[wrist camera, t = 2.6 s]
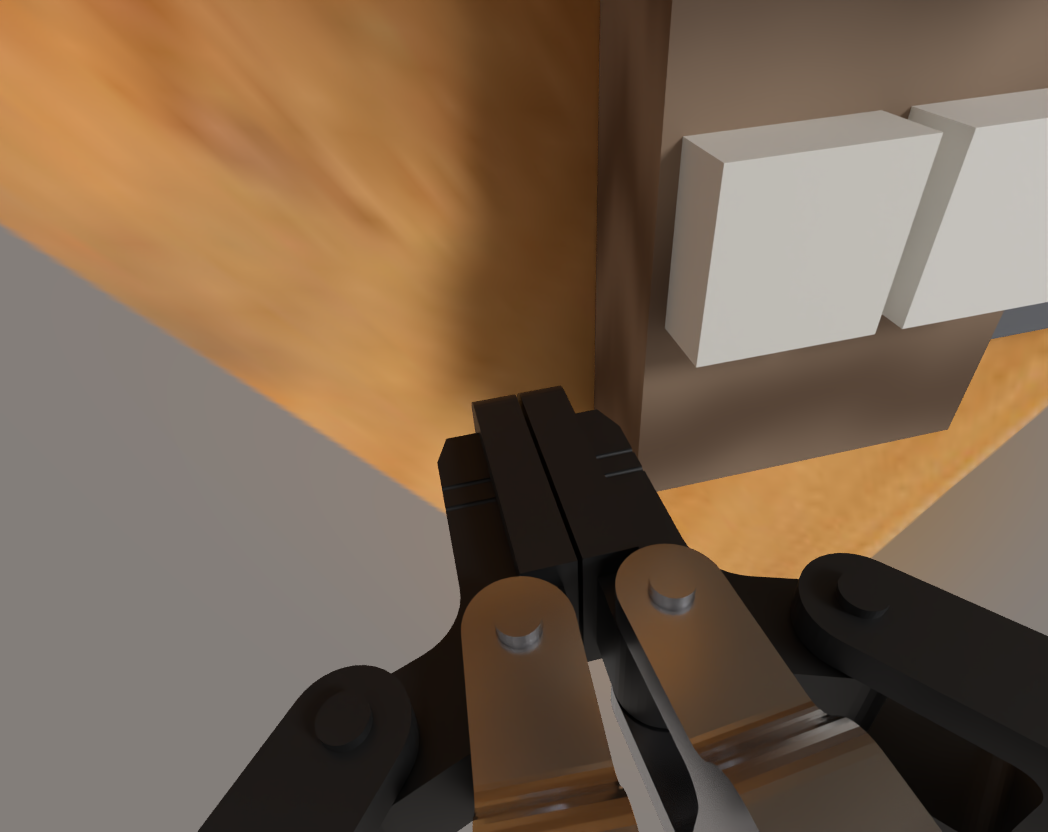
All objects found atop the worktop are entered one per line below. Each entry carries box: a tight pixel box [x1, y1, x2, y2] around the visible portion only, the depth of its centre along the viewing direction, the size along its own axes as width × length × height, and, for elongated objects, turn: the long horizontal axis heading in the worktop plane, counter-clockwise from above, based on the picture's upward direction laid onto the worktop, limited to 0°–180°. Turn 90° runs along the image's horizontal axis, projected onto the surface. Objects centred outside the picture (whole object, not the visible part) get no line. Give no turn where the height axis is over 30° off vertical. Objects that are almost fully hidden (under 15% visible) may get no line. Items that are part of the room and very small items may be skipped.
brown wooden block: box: [594, 0, 1048, 492], centre depth 18 cm, size 18×12×4 cm, turn 4°
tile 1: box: [665, 110, 943, 368], centre depth 15 cm, size 5×5×2 cm
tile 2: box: [882, 88, 1048, 329], centre depth 16 cm, size 5×5×2 cm
